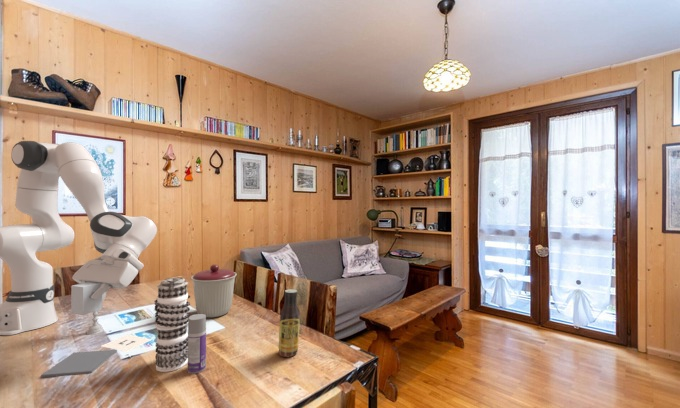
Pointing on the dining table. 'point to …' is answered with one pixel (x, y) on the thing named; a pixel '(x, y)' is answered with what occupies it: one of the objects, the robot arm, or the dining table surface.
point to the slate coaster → (79, 363)
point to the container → (196, 343)
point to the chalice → (96, 327)
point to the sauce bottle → (289, 325)
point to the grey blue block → (85, 298)
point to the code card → (126, 343)
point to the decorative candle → (172, 324)
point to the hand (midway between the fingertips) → (84, 297)
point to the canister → (213, 291)
